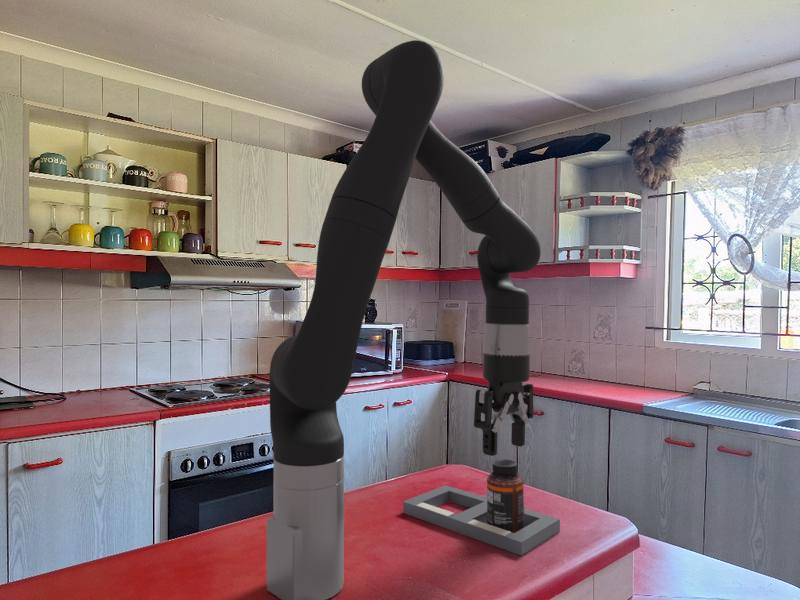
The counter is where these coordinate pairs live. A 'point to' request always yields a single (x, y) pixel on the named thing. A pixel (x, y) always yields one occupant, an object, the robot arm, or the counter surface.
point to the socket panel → (480, 519)
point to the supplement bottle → (505, 496)
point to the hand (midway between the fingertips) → (504, 449)
